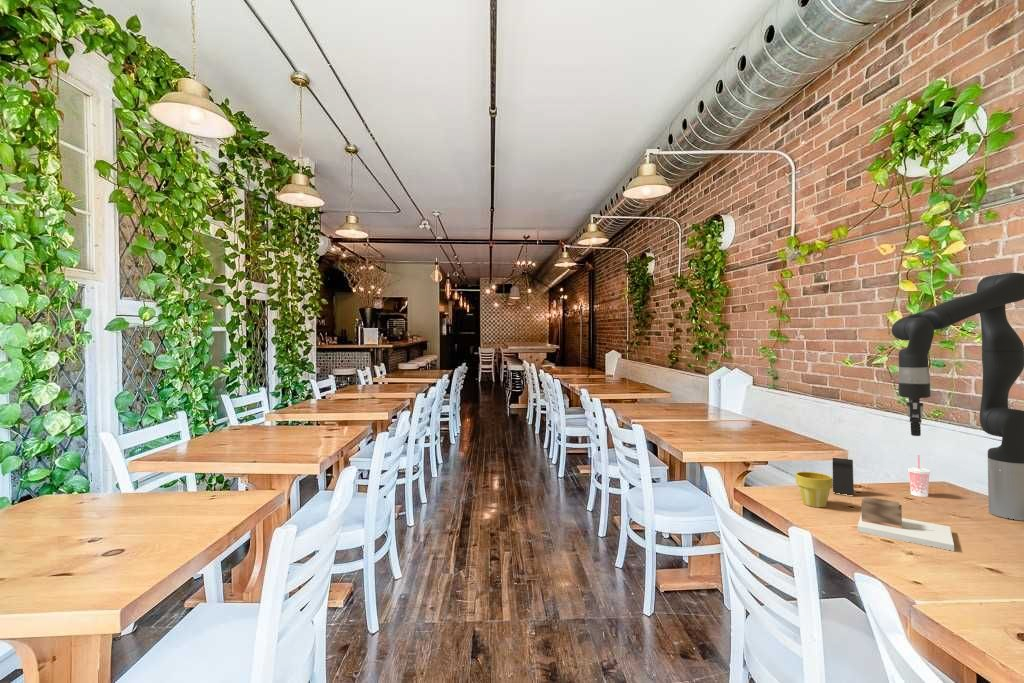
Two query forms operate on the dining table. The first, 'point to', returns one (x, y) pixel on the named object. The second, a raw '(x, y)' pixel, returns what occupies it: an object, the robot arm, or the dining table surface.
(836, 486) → the phone stand
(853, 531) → the dining table surface
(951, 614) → the dining table surface
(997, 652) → the dining table surface
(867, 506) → the block
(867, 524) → the board
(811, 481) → the plant pot
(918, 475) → the beverage cup
